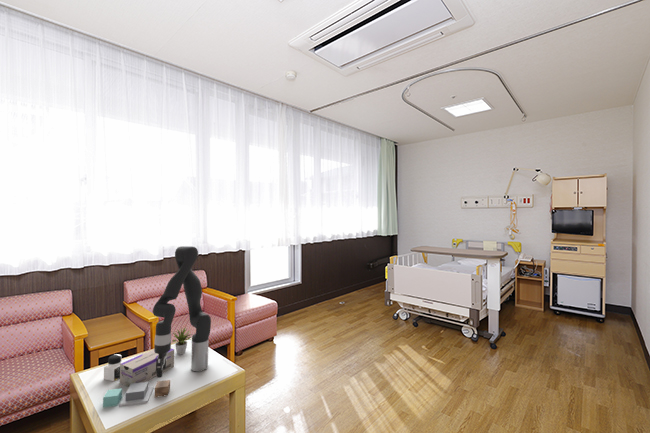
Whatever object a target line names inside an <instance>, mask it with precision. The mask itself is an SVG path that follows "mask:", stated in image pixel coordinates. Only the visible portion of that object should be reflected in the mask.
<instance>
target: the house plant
mask: <svg viewBox="0 0 650 433" xmlns="http://www.w3.org/2000/svg"><path fill="white" fill-rule="evenodd" d="M186 327H187V326H185V327H183V329H182V327H181V328H180V331H179V330H178V329H177V330H176V331H173V332H172V334H173V335H174V336H173V337H174V338H176V339H177V340H176V339H173V340H172V343H175V342H176V343H175V344H174V345H175V350H176V352H175V353H176V354H177V355H183V354H185V353H186V351H187V345H188V342H187V340H190V341H192V336H193V334H192V333H190V332H191V329H190V330H188V328H186ZM187 330H188V331H187ZM186 331H187V332H186ZM176 332H177V333H176ZM189 333H190V334H189Z"/></svg>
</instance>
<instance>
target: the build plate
mask: <svg viewBox="0 0 650 433" xmlns="http://www.w3.org/2000/svg"><path fill="white" fill-rule="evenodd" d="M154 386H155V385H154ZM154 386H149V381H146V382H142V383H133V384H131V385H130V386H129V387H128V388H127V389H126V392H125V394H124V395H123V396H122V399H121V400H120V402H119V404H118V405H119V407H125V406H133V405H140V404H148V403H147V402H149V400H150V399H151V395H152V393H153V391H154V389H155V387H154Z"/></svg>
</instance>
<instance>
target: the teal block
mask: <svg viewBox="0 0 650 433" xmlns="http://www.w3.org/2000/svg"><path fill="white" fill-rule="evenodd" d="M122 399H123V387H122V388H114V389H108V390H107V391H106V393H105V394H104V396H103V397H102V408H110V407H116V406H118V405H119V404H120V402H121V401H122Z"/></svg>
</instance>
